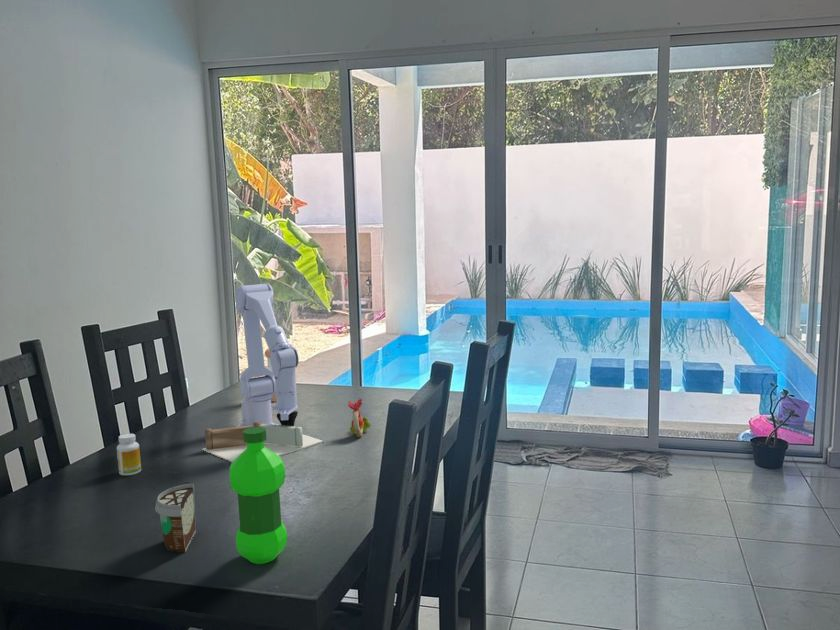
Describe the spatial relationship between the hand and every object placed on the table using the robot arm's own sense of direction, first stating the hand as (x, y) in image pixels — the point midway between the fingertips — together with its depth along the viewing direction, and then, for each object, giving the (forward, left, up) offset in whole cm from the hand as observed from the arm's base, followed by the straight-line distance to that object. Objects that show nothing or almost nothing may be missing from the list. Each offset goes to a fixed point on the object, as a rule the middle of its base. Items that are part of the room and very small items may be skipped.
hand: (288, 437), depth 206 cm
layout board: (-4, -6, -2) cm, 7 cm away
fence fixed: (-10, -12, -1) cm, 15 cm away
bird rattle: (+10, +18, -2) cm, 21 cm away
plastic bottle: (+53, -44, -2) cm, 68 cm away
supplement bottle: (-13, -40, -2) cm, 42 cm away
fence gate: (+1, -3, -1) cm, 3 cm away
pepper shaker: (-44, +27, -2) cm, 52 cm away
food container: (+34, -52, -2) cm, 62 cm away
